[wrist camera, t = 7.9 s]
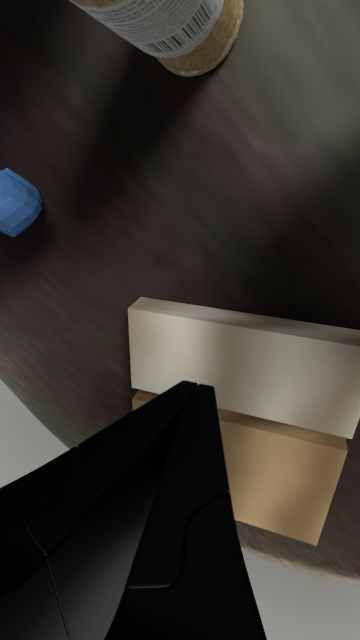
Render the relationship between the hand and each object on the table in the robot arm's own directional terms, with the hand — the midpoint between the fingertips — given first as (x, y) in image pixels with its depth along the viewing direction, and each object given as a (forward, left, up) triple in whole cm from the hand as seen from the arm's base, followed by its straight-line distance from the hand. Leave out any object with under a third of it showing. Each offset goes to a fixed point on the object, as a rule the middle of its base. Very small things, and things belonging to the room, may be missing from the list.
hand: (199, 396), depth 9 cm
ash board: (0, +6, -12) cm, 13 cm away
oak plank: (0, +14, -12) cm, 19 cm away
